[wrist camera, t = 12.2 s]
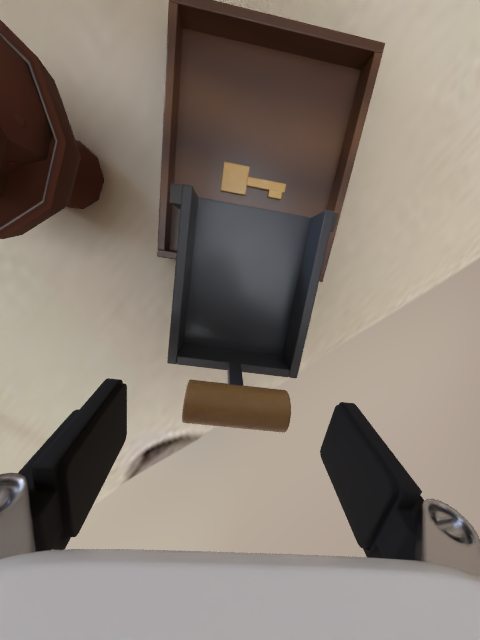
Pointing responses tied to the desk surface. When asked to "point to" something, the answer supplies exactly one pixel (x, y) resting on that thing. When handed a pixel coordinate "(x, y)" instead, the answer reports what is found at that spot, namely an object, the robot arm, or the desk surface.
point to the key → (247, 181)
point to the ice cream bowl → (37, 145)
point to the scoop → (243, 305)
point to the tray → (260, 110)
